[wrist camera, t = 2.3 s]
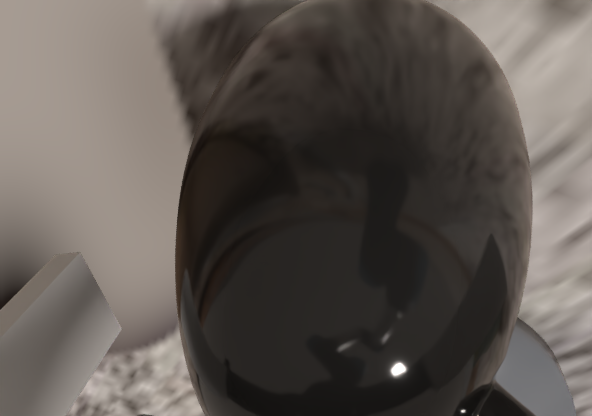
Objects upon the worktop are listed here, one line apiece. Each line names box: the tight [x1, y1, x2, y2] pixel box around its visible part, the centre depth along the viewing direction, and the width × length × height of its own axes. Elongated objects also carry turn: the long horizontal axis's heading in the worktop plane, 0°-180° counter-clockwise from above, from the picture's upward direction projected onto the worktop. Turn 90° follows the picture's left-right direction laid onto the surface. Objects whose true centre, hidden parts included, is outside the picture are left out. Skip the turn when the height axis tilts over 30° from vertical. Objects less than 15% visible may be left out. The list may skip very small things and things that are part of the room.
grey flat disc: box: [496, 317, 576, 416], centre depth 27 cm, size 17×17×2 cm
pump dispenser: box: [175, 0, 536, 416], centre depth 13 cm, size 10×10×15 cm
